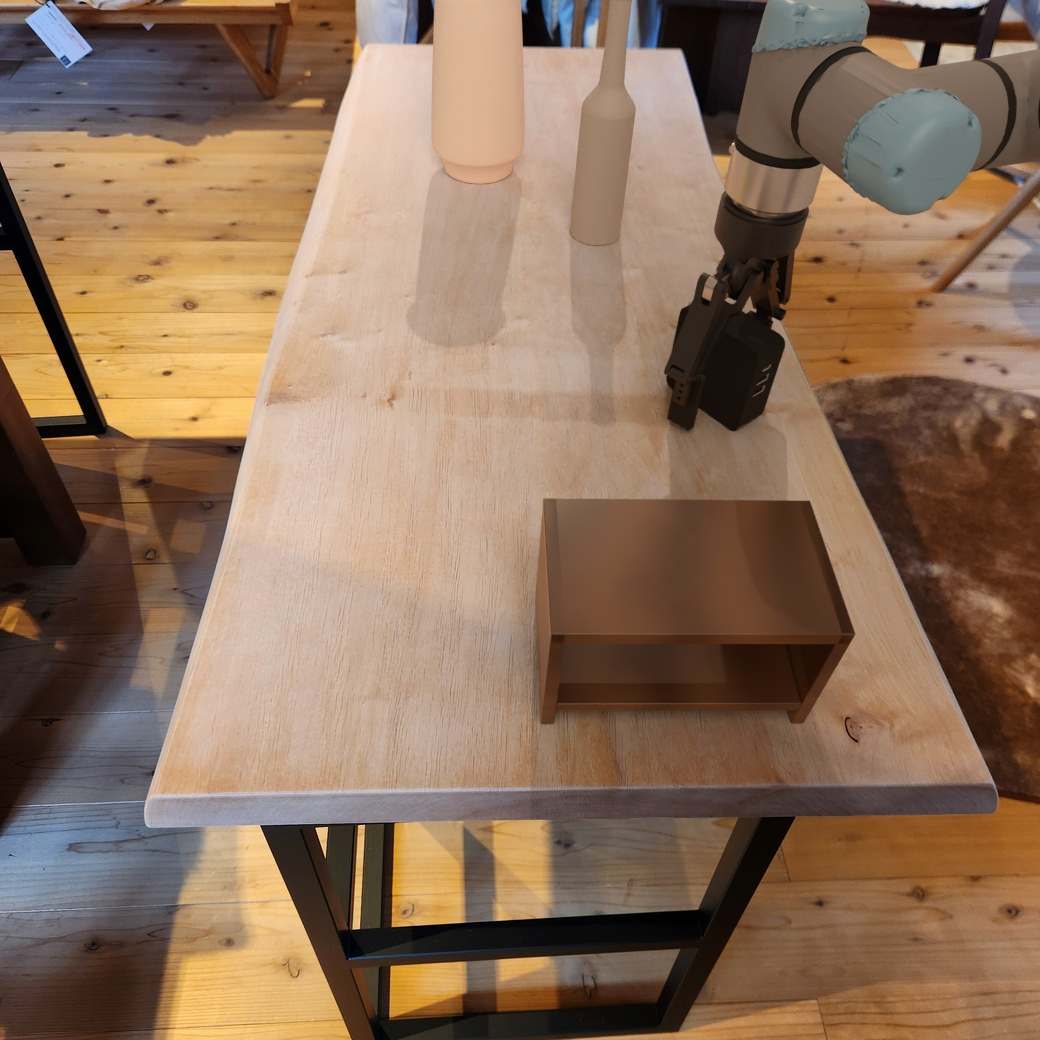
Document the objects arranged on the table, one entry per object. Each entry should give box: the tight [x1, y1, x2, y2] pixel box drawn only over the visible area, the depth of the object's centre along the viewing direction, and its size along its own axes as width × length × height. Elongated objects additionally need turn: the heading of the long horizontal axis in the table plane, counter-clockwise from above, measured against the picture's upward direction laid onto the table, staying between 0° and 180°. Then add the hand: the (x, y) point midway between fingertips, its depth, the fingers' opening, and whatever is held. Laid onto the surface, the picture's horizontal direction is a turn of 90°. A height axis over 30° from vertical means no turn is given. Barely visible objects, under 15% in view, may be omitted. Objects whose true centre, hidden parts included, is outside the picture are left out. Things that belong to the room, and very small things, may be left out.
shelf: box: [535, 497, 856, 725], centre depth 63 cm, size 20×12×12 cm, turn 91°
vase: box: [430, 0, 526, 185], centre depth 112 cm, size 13×13×28 cm
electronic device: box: [665, 300, 786, 432], centre depth 86 cm, size 4×10×10 cm, turn 39°
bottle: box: [569, 0, 637, 246], centre depth 101 cm, size 7×7×28 cm
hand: (713, 394), depth 89 cm, fingers open, 12 cm apart
